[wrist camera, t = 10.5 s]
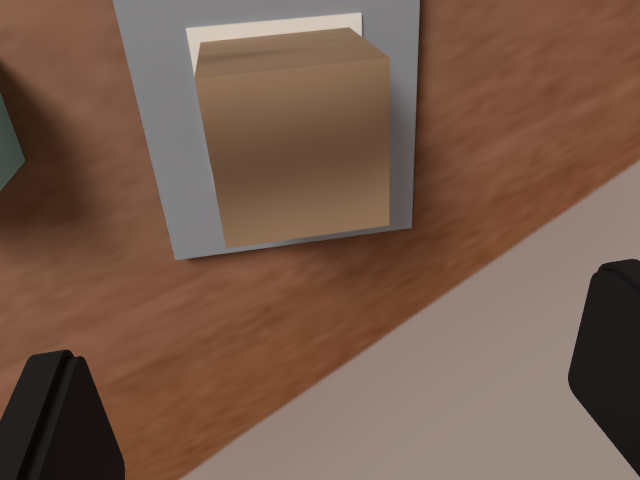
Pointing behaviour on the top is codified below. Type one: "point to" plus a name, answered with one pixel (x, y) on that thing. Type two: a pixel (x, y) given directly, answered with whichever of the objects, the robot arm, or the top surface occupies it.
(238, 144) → the walnut block
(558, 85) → the top surface
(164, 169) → the pad
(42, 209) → the top surface
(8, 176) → the teal block
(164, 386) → the top surface
